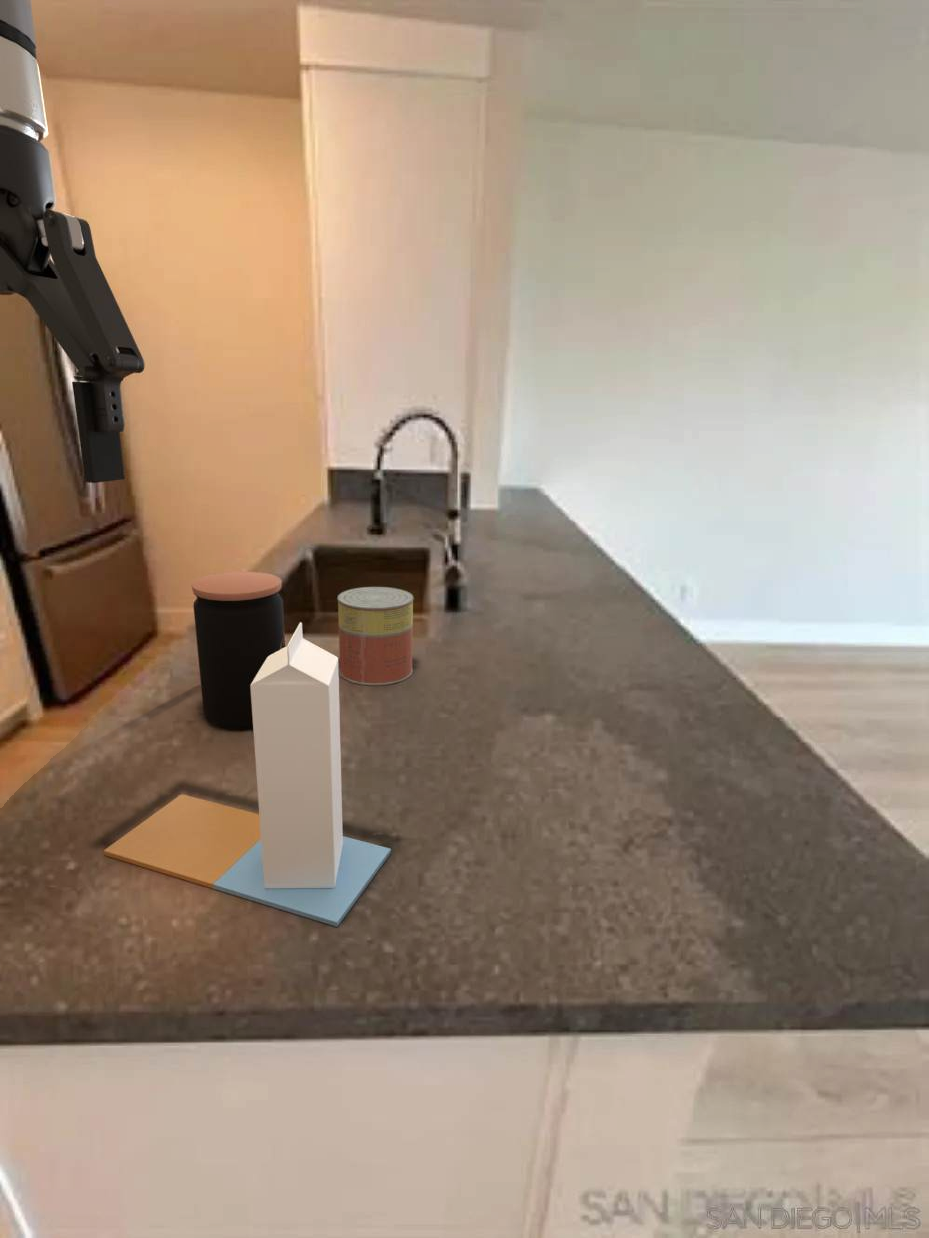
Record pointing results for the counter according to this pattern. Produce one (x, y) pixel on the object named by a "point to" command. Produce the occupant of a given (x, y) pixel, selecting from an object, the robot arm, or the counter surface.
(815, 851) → the counter surface
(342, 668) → the canned food
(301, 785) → the milk
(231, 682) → the coffee jar
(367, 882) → the sorting board
